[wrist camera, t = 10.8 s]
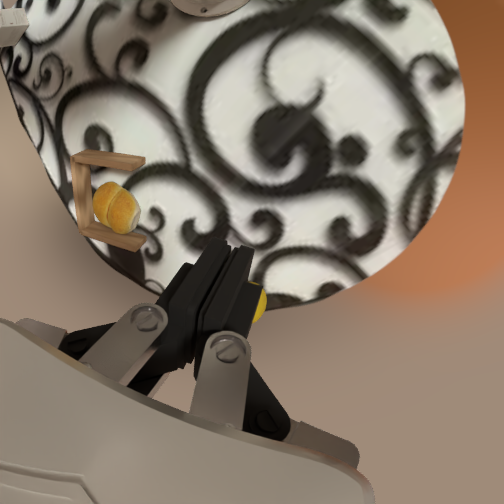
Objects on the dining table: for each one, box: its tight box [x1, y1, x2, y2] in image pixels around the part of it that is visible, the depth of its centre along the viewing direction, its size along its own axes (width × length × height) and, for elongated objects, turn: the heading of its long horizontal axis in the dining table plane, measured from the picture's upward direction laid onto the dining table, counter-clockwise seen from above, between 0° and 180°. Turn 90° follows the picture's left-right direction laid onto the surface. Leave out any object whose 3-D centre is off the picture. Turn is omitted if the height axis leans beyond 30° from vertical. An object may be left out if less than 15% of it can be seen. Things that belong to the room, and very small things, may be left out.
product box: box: [0, 8, 29, 47], centre depth 26 cm, size 6×6×7 cm
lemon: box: [250, 282, 267, 323], centre depth 44 cm, size 6×6×8 cm
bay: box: [70, 149, 146, 252], centre depth 43 cm, size 14×12×4 cm
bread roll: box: [92, 182, 141, 234], centre depth 44 cm, size 8×9×4 cm
